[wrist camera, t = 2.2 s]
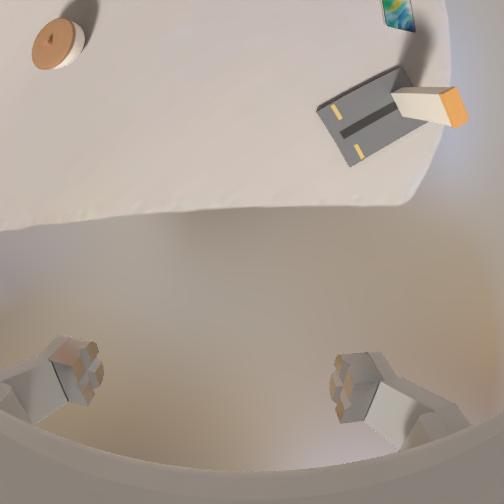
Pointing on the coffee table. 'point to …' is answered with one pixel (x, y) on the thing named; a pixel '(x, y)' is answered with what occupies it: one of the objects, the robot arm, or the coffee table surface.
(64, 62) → the lidded jar
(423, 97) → the fader tab
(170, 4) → the coffee table surface
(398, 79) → the board
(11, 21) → the coffee table surface
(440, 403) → the robot arm
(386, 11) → the smartphone
